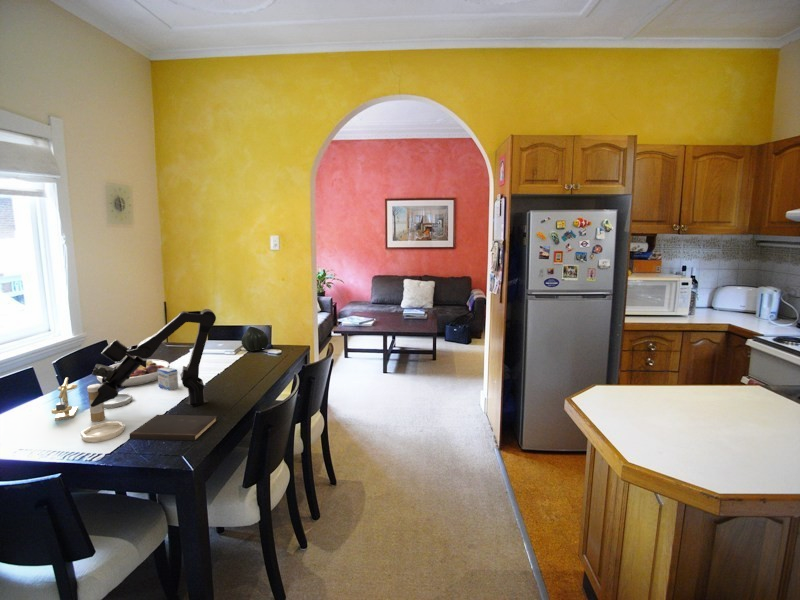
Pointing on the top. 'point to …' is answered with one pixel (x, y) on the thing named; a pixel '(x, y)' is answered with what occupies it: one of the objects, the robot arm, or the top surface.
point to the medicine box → (167, 378)
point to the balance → (65, 403)
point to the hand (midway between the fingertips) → (93, 402)
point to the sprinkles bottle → (98, 410)
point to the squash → (254, 339)
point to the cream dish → (102, 431)
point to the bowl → (143, 373)
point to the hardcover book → (173, 427)
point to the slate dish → (118, 400)
